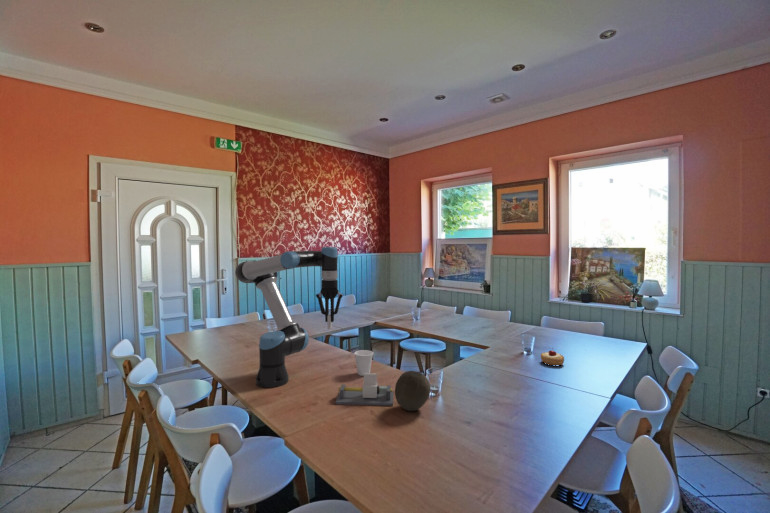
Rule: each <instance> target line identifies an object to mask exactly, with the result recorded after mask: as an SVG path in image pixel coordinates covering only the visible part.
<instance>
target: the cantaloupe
mask: <svg viewBox="0 0 770 513" xmlns="http://www.w3.org/2000/svg"><path fill="white" fill-rule="evenodd" d="M430 394H431V384H430V381H429V380H428V378H427V377H426V375H424V374H423V373H422V372H419V371H416V370H408V371H404V372H403V373H401V375H400V376H399V377H398V378H397V381H396V383H395V387H394V396H395V399H396V401H397V404H398V405H399V406H400V407H401V408H402V409H403V410H405V411H407V412H414V411H417V410H420V408H423V406H424V405H425V404H426V403H427V401H428V399H429V397H430Z"/></svg>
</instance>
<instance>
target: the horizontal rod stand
mask: <svg viewBox="0 0 770 513" xmlns="http://www.w3.org/2000/svg"><path fill="white" fill-rule="evenodd" d="M338 391H339V393H338V394H337V397H336V401H335V403H334V404H335V405H350V406H351V405H353V406H380V407H381V406H383V407H385V406H387V407H393V406H394V396H395V390H394V391H393V388H392V386H391V385H378V386H377V398H363V387H349V386H348V387H346V384H341V386H340V387H338Z"/></svg>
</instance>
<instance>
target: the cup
mask: <svg viewBox="0 0 770 513" xmlns="http://www.w3.org/2000/svg"><path fill="white" fill-rule="evenodd" d="M353 353H354V358H355V359H354V360H355V365H356V370H357V375H358V376H361V377H364V373H371V368H372V361H373V356H374V351H372V350H368V349H365V350H364V349H360V350H356V351H354V352H353Z"/></svg>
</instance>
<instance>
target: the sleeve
mask: <svg viewBox="0 0 770 513" xmlns="http://www.w3.org/2000/svg"><path fill="white" fill-rule="evenodd" d="M377 386H379V384H378V374H377V373H371V372H370V373H364V376H363V384H362V388H363V398H377Z"/></svg>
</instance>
